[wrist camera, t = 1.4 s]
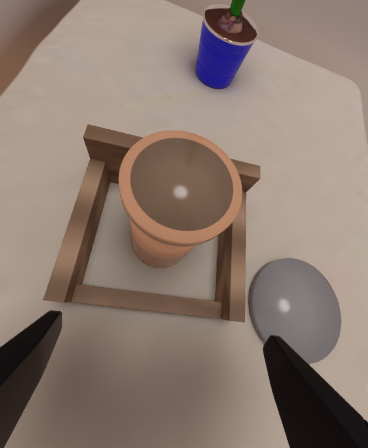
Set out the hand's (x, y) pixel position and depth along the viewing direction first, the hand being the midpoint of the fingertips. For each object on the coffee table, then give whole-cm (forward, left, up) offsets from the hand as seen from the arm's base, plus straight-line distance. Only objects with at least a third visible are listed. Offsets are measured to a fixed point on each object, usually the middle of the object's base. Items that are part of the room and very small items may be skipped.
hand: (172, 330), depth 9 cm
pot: (+6, +5, -13) cm, 16 cm away
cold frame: (+6, +5, -13) cm, 15 cm away
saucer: (+13, -11, -13) cm, 21 cm away
